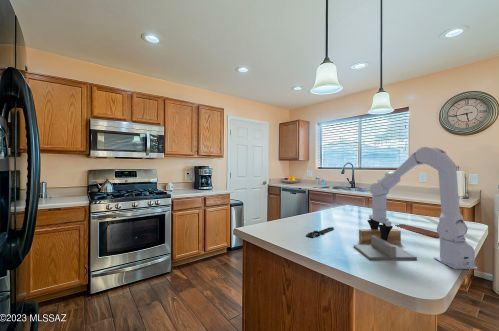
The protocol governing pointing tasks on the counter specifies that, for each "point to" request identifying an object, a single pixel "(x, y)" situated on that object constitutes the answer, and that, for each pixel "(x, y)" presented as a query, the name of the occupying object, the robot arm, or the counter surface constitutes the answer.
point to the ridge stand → (383, 251)
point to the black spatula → (319, 232)
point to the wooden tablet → (420, 230)
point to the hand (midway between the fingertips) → (379, 237)
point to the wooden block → (379, 235)
